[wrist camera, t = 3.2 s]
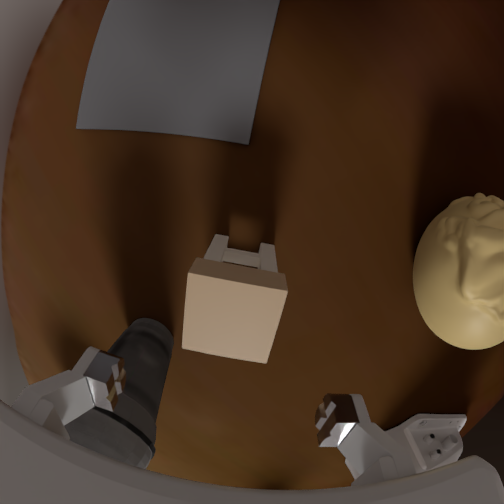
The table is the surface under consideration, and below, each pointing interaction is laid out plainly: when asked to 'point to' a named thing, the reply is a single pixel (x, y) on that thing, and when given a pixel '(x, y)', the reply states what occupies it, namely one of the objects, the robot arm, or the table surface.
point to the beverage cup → (130, 398)
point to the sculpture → (463, 273)
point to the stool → (233, 302)
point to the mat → (178, 67)
